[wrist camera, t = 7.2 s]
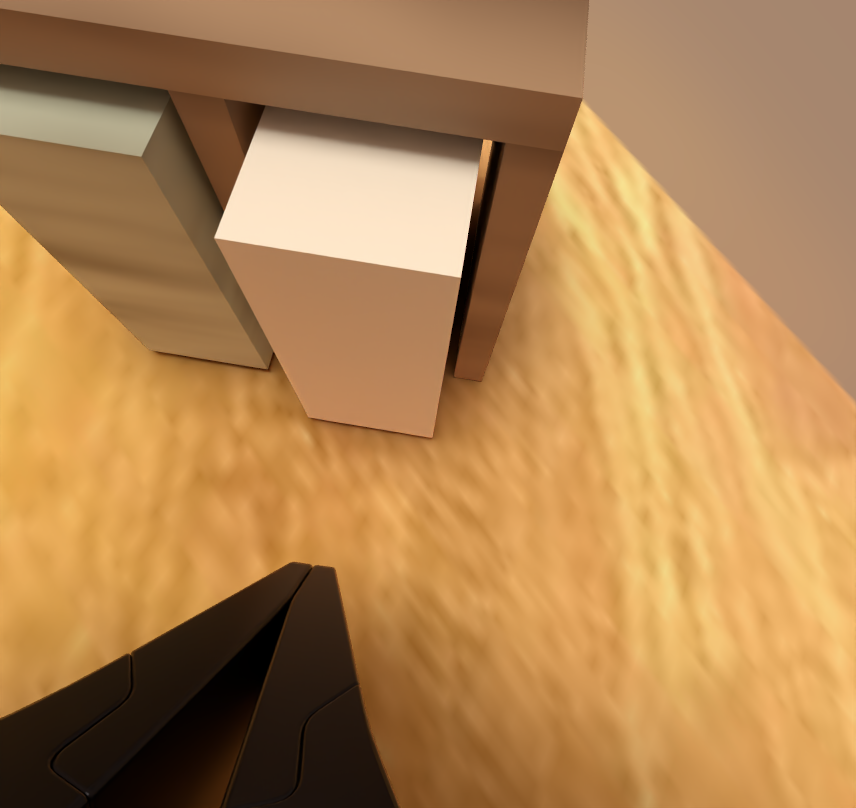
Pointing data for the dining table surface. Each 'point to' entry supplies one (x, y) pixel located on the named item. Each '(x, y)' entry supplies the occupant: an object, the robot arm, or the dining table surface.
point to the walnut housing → (236, 125)
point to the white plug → (354, 259)
